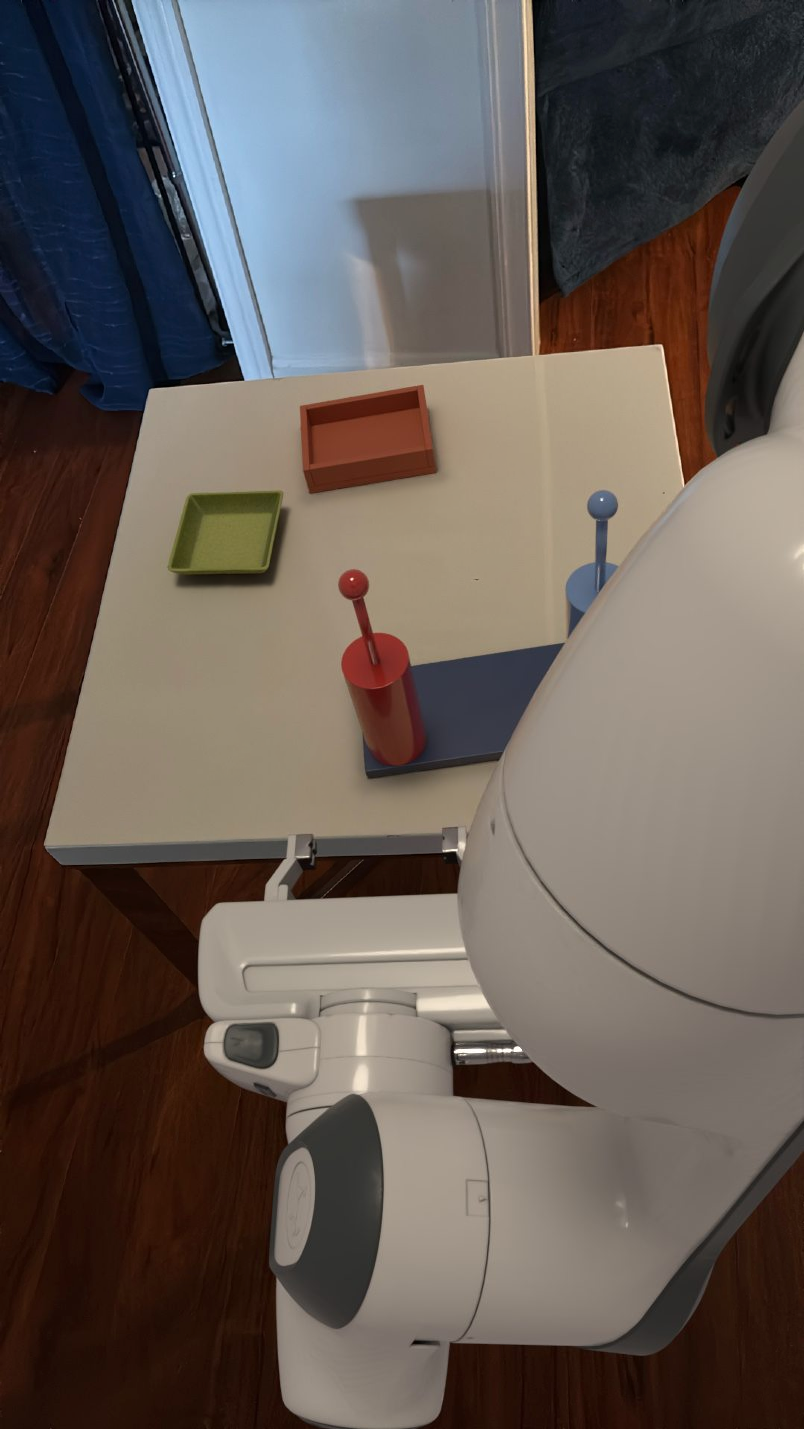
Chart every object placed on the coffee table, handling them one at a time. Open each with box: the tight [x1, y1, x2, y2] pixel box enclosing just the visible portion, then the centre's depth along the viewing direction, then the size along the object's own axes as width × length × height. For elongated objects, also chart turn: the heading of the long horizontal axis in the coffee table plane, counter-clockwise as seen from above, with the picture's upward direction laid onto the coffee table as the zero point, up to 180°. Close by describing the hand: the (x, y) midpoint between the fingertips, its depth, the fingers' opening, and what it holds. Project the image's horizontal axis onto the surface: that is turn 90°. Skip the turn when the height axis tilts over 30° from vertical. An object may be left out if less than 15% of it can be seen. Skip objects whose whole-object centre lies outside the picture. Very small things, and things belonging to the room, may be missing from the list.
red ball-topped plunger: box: [337, 568, 427, 766], centre depth 67 cm, size 4×4×18 cm
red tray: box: [299, 384, 437, 494], centre depth 92 cm, size 11×8×3 cm
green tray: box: [167, 490, 284, 575], centre depth 88 cm, size 9×9×2 cm
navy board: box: [361, 642, 565, 779], centre depth 76 cm, size 20×9×1 cm, turn 95°
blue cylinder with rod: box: [564, 489, 619, 642], centre depth 68 cm, size 4×4×18 cm
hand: (378, 834), depth 64 cm, fingers open, 8 cm apart
